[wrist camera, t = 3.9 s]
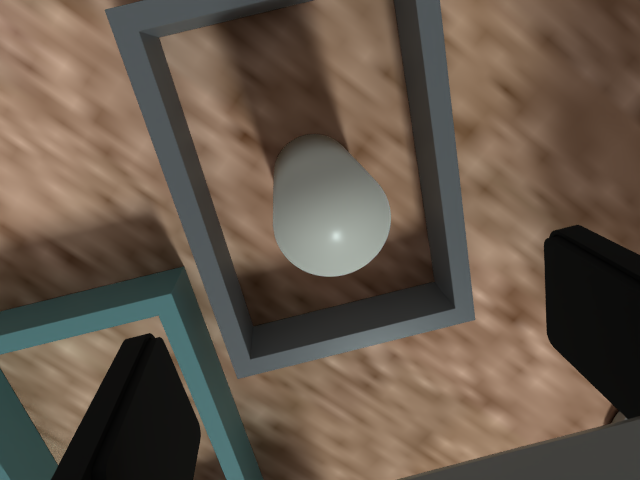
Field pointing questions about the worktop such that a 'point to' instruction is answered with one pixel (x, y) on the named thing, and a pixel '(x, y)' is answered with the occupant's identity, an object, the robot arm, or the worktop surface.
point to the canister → (327, 208)
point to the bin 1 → (108, 311)
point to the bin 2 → (203, 225)
